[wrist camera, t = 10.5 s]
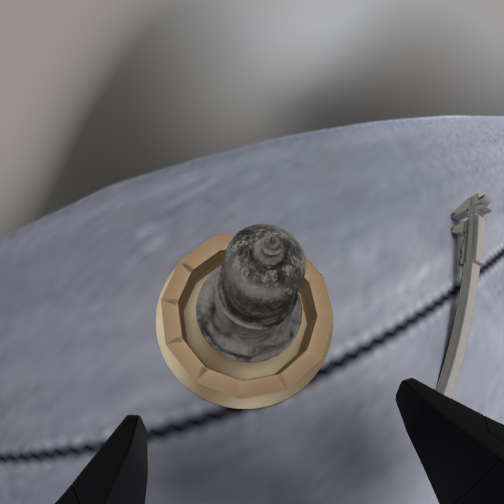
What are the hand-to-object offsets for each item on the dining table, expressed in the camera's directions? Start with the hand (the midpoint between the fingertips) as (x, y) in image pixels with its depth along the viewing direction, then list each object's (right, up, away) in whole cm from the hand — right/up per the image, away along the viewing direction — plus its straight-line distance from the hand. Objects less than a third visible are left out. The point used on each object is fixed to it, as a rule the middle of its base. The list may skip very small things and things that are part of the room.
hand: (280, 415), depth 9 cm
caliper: (+17, 0, +14) cm, 22 cm away
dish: (-1, 0, +12) cm, 12 cm away
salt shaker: (-1, +1, +11) cm, 11 cm away
